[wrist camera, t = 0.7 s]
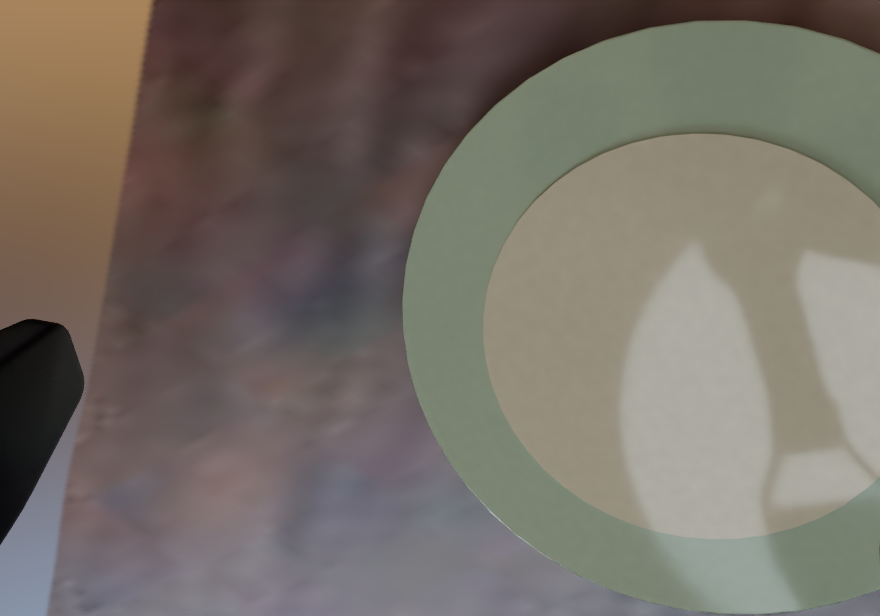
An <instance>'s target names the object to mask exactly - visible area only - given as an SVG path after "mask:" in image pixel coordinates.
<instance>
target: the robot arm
mask: <svg viewBox="0 0 880 616" xmlns="http://www.w3.org/2000/svg"><path fill="white" fill-rule="evenodd" d="M83 390H84V376H83V372H82V369H81V366H80V363H79V360H78V357H77V354H76V352H75V349H74V345H73V343H72V340H71V337H70V334H69V332H68V330H67V329H66V328H65V327H64V326H63V325H60V324H58V323H54V322H48V321H42V320H36V319H27V320H23V321H21V322H18V323H16V324H13V325H12V326H9V327H7V328H4V329H2V330H0V545H1V543H2V542H3V540H4V539H5V537H6V536H7V534H8V532H9V531H10V529H11V528H12V526H13V524H14V523H15V521H16V520H17V518H18V516H19V515H20V513H21V512H22V510H23V508H24V506H25V505H26V502H27V501H28V499H29V497H30V496H31V494H32V492H33V490H34V488H35V486H36V484H37V482H38V480H39V478H40V477H41V474H42V473H43V471H44V469H45V467H46V465H47V463H48V461H49V459H50V457H51V455H52V453H53V451H54V449H55V448H56V446H57V444H58V442H59V439H60V438H61V436H62V434H63V432H64V430H65V428H66V426H67V424H68V422H69V420H70V418H71V417H72V415H73V413H74V411H75V409H76V407H77V405H78V403H79V401H80V399H81V396H82V393H83ZM879 555H880V547H879Z"/></svg>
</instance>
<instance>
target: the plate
mask: <svg viewBox="0 0 880 616" xmlns="http://www.w3.org/2000/svg"><path fill="white" fill-rule="evenodd" d="M403 333H404V340H405V346H406V353H407V359H408V366H409V369H410V373H411V376H412V380H413V384H414V387H415V391H416V394H417V398H418V400H419V403H420V405H421V407H422V410H423V412H424V415H425V417H426V419H427V422H428V424H429V427H430V429H431V431H432V433H433V434H434V436H435V438H436V440H437V442H438V443H439V445H440V447H441V449H442V450H443V452H444V454H445V456H446V458H447V459H448V461H449V462H450V463H451V465H452V466H453V468H454V469H455V470H456V472H457V473H458V475H459V476H460V477H461V479H462V480H463V482H464V483H465V484H466V486H467V487H468V488H469V489H470V490H471V491H472V492H473V494H474V495H475V496H476V497H477V498H478V499H479V500H480V501H481V502H482V504H483V505H484V506H485V507H486V508H487V509H488V510H489V511H490V512H491V513H492V514H493V515H494V516H495V517H496V518H497V519H498V520H500V521H501V522H502V523H503V524H504V525H505V526H506V527H507V528H508V529H510V530H511V531H512V532H513V533H514V534H515V535H516V536H518V537H519V538H520V539H522V540H523V541H525V542H526V543H527V544H529V545H530V546H531V547H533V548H534V549H536V550H537V551H538V552H540V553H541V554H542V555H544V556H545V557H547V558H549V559H551V560H552V561H554V562H556V563H557V564H559V565H561V566H563V567H564V568H566V569H568V570H569V571H571V572H573V573H575V574H577V575H579V576H581V577H583V578H585V579H588V580H590V581H592V582H594V583H596V584H599V585H601V586H603V587H605V588H608V589H610V590H613V591H616V592H619V593H622V594H625V595H628V596H631V597H634V598H637V599H640V600H643V601H647V602H651V603H655V604H660V605H664V606H669V607H673V608H677V609H682V610H690V611H699V612H707V613H715V614H747V615H761V614H772V613H783V612H794V611H802V610H807V609H812V608H816V607H821V606H826V605H831V604H836V603H840V602H843V601H846V600H849V599H852V598H855V597H858V596H861V595H865V594H868V593H871V592H874V591H877V590H879V589H880V555H879V547H880V53H878V52H875V51H873V50H870V49H868V48H866V47H863V46H861V45H858V44H856V43H854V42H851V41H849V40H846V39H843V38H839V37H836V36H832V35H828V34H824V33H820V32H817V31H813V30H809V29H805V28H801V27H798V26H791V25H783V24H775V23H767V22H758V21H750V20H701V21H690V22H683V23H676V24H669V25H662V26H655V27H649V28H646V29H642V30H638V31H635V32H631V33H628V34H624V35H621V36H617V37H613V38H610V39H606V40H604V41H601V42H599V43H597V44H594V45H592V46H590V47H587V48H585V49H583V50H580V51H578V52H576V53H573V54H571V55H569V56H566V57H564V58H562V59H561V60H559V61H557V62H556V63H554V64H552V65H550V66H549V67H547V68H545V69H544V70H542V71H540V72H539V73H537V74H535V75H534V76H532V77H530V78H529V79H527V80H526V81H524V82H523V83H522V84H521V85H519V86H518V87H517V88H516V89H514V90H513V91H512V92H511V93H509V94H508V95H507V96H505V97H504V98H503V99H502V100H500V101H499V102H498V103H497V104H495V105H494V106H493V107H492V108H491V109H490V110H489V111H488V113H487V114H486V115H485V116H484V117H483V118H482V119H481V120H480V121H479V122H478V123H477V124H476V125H475V126H474V127H473V128H472V129H471V130H470V131H469V132H468V133H467V135H466V136H465V137H464V139H463V140H462V141H461V143H460V144H459V145H458V147H457V148H456V149H455V151H454V152H453V154H452V155H451V156H450V158H449V159H448V160H447V162H446V163H445V164H444V166H443V168H442V170H441V172H440V174H439V175H438V177H437V179H436V181H435V183H434V185H433V186H432V188H431V190H430V192H429V194H428V196H427V198H426V200H425V203H424V206H423V208H422V211H421V213H420V216H419V219H418V221H417V224H416V226H415V229H414V233H413V237H412V241H411V245H410V249H409V254H408V258H407V262H406V269H405V279H404V288H403Z"/></svg>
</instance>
